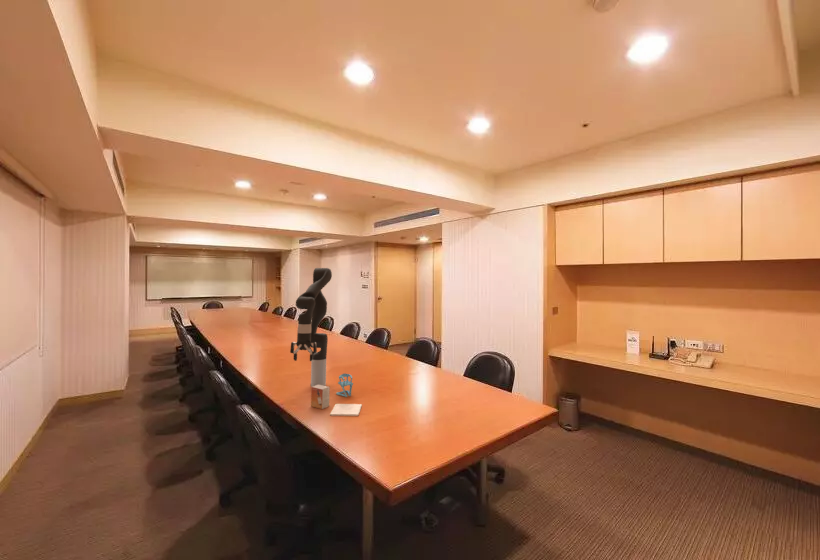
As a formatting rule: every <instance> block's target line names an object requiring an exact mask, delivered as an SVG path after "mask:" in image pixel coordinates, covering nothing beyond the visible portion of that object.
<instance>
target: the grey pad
mask: <svg viewBox="0 0 820 560" xmlns="http://www.w3.org/2000/svg"><path fill="white" fill-rule="evenodd" d="M362 406H363V404H362V403H359V404H358V403H335V405H334V406H333V408H332V410H331V411H330V413H329V416H333V417H336V416H339V417H341V416H343V417H344V416H345V417H358V416H359V415H360V412H361V409H362Z"/></svg>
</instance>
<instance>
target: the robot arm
mask: <svg viewBox="0 0 820 560" xmlns="http://www.w3.org/2000/svg"><path fill="white" fill-rule="evenodd" d="M332 275H333V273H332V270H331V269H330V268H329V267H316V268H314V269H313V272H312V283H311V284H310V285H309V286H308V287H307V289H306V290H305V292H303V293H302V294H300V295H299V296H298V297H297V298H296V301H295V307H296V308H297V309H299V310H306V311H305V312H303V313H300V314H298V324H297V330H296V331H297V333H296V336H297V337H296V341H292V342H291V343H290V351H289V352H290V354H292V355H293V361H294V362H297V361H298V352H299V351H307V352H308V353H309V362H310V363H311V365H310V366H311V367H310V368H311V369H310V387H311V388H312V387H313V386H316V385H318V384H319V385H323V386H326V385H327V383H326V382H327V353H328V334H327V333H324V332H322V333H321V332H317V331H318V327H319V325H320V324H321V322H322V320H323V319H324V318H325V316H326V315H327V310H328V309H327V308H328V302H327V299H326V296H325V295H324V293H323V291H322V290H323V288H325V287H326V286H327V284H329V283H330V281H331V280H332ZM295 346H297V347H296V349H295ZM312 349H313V350H312ZM317 349H320V350H319V351H317Z"/></svg>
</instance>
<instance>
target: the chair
mask: <svg viewBox="0 0 820 560" xmlns="http://www.w3.org/2000/svg"><path fill="white" fill-rule="evenodd" d="M349 377H350V381H349ZM345 378H346V380H345ZM338 379H339V381H338V382H337V384H338V385H339V386H340V387H341V389H342V391H338V392H337V391H336V395H338V396H342V397H345V398H347V397H352V390H353V385H354V383H353V382H352V381H353V375H352V374H350V373H342V374H340V375H339V376H338ZM347 386H349V390H348V389H345V387H347Z"/></svg>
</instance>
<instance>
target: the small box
mask: <svg viewBox="0 0 820 560" xmlns="http://www.w3.org/2000/svg"><path fill="white" fill-rule="evenodd" d="M330 390H331V389H330V386H323V385H319V384H318V385H316V386H313V387H311V390H310V391H311V393H310V394H311V395H310V407H313V408H317V409H319V410H324V409H326V408H328V407H330Z"/></svg>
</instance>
